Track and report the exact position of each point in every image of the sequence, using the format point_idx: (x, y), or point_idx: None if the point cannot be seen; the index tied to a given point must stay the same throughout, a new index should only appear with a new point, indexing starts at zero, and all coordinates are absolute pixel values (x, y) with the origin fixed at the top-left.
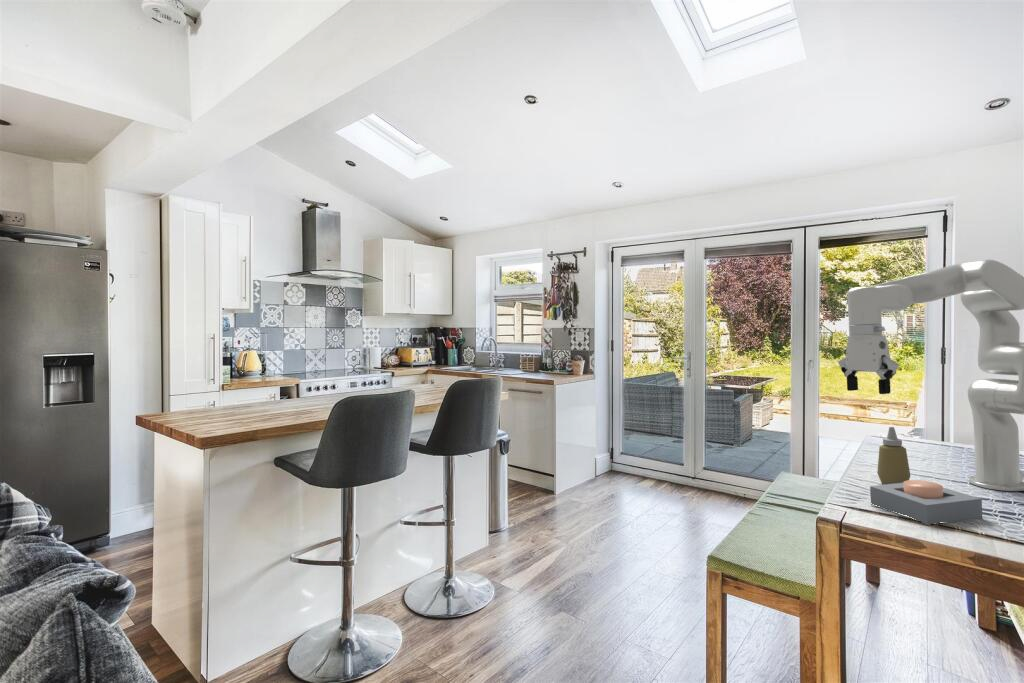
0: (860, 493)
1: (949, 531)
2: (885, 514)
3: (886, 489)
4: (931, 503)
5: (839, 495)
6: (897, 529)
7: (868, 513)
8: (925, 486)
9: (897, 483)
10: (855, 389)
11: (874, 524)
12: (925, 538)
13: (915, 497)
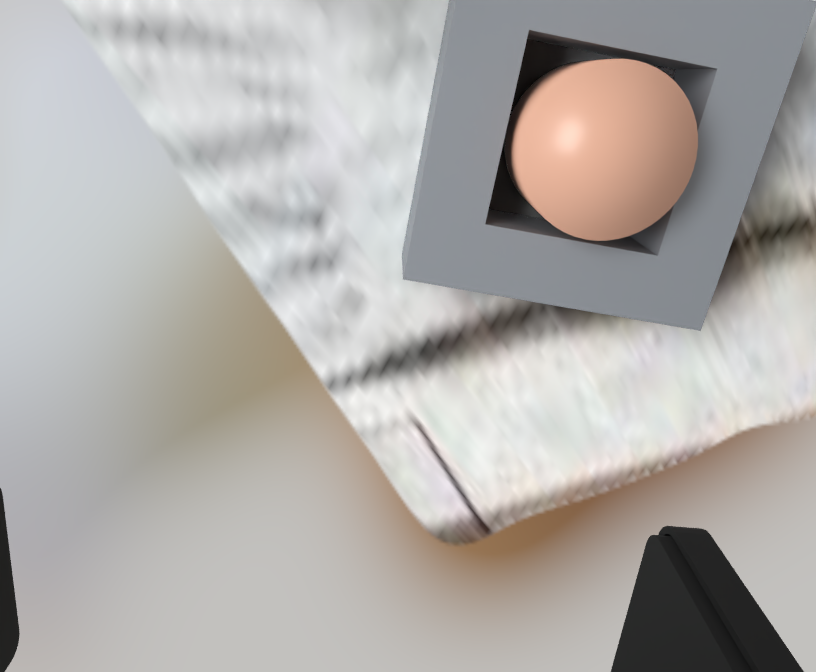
0: (266, 143)
1: (738, 292)
2: (512, 321)
3: (478, 263)
4: (702, 292)
5: (249, 262)
6: (624, 426)
7: (471, 366)
8: (635, 179)
9: (439, 105)
10: (2, 539)
11: (554, 449)
12: (717, 423)
13: (621, 268)
